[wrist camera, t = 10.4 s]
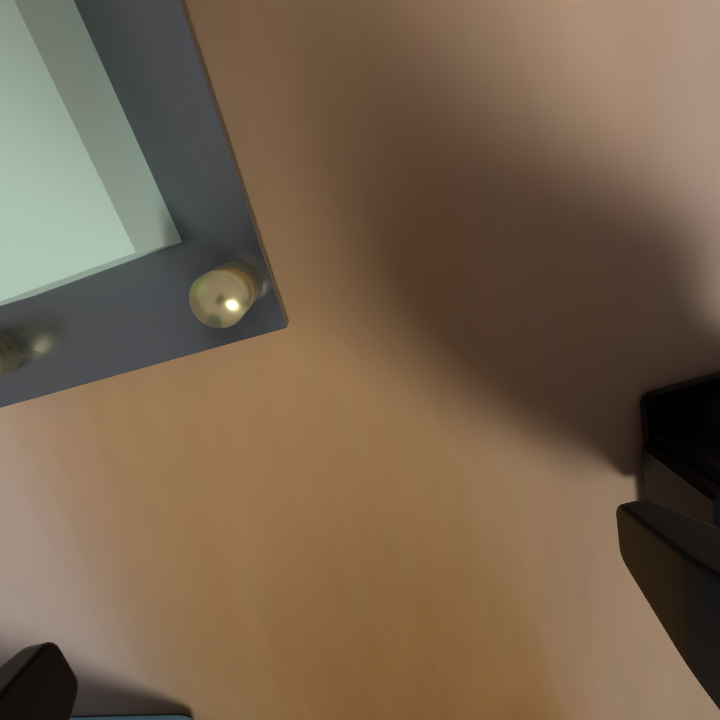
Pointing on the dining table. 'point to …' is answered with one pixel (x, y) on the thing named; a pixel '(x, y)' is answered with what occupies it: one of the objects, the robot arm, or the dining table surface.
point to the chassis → (187, 209)
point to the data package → (136, 717)
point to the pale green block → (66, 158)
